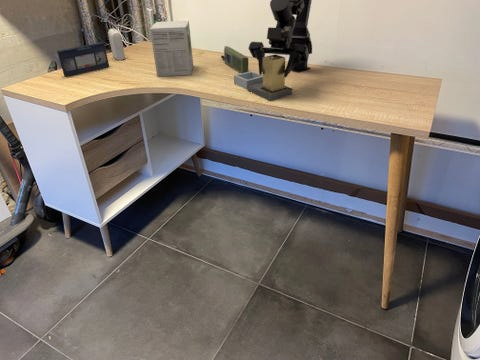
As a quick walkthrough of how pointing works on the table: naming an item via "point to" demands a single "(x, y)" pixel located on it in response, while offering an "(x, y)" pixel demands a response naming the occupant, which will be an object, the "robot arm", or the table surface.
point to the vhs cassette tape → (83, 59)
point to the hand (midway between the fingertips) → (272, 75)
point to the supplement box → (172, 48)
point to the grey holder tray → (259, 91)
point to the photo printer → (116, 44)
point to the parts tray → (247, 79)
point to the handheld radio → (235, 60)
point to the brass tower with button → (273, 73)
